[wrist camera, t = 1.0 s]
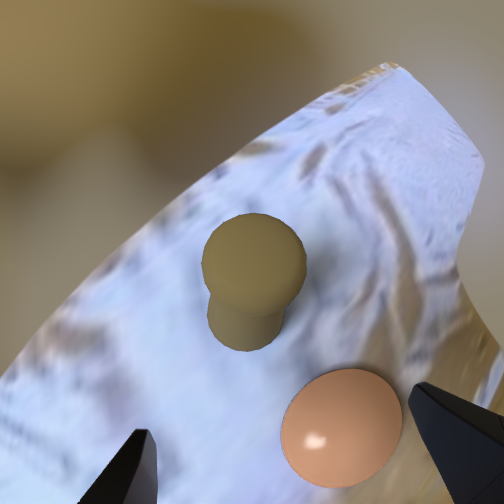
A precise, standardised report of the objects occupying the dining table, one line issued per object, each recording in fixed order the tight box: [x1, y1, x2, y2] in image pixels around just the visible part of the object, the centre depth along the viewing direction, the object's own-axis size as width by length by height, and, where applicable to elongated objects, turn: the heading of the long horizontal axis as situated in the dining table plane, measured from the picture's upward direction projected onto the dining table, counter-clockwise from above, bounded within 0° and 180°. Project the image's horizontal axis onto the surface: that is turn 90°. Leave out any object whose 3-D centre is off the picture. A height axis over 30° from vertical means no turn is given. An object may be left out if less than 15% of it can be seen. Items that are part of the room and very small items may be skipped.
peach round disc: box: [281, 369, 402, 488], centre depth 18 cm, size 10×10×1 cm
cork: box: [201, 213, 306, 352], centre depth 18 cm, size 6×6×11 cm
